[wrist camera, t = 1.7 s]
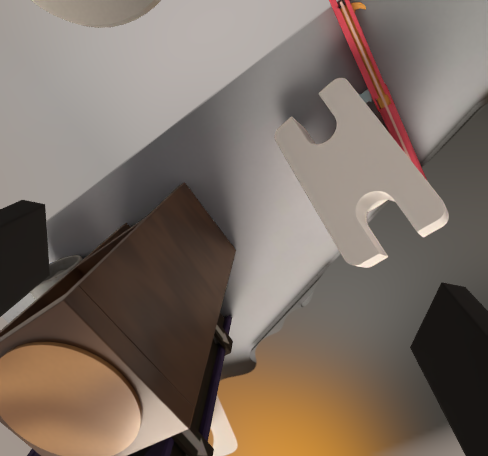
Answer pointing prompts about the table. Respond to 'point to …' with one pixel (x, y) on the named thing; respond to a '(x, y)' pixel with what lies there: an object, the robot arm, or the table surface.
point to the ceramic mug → (56, 273)
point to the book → (196, 437)
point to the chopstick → (373, 77)
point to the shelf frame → (158, 286)
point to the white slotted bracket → (358, 175)
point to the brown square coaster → (84, 385)
